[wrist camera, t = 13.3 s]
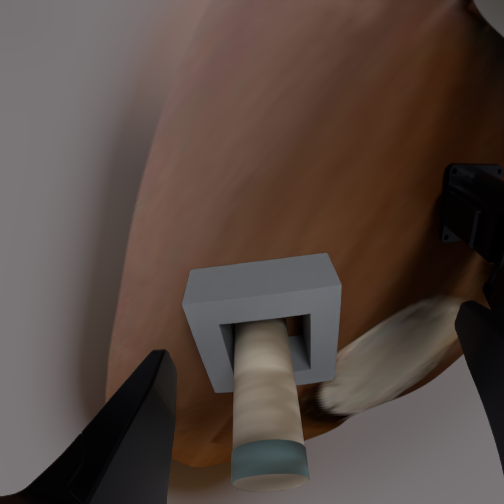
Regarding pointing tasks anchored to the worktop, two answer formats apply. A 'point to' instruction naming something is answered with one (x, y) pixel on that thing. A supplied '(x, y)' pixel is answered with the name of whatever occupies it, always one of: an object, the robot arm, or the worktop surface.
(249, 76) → the worktop surface
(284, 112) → the worktop surface
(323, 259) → the socket block
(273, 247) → the worktop surface
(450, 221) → the robot arm
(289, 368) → the birch peg
